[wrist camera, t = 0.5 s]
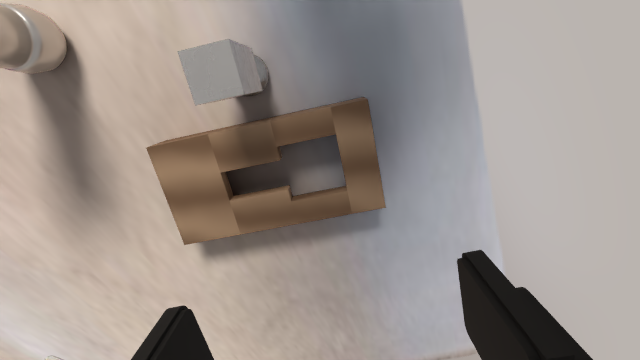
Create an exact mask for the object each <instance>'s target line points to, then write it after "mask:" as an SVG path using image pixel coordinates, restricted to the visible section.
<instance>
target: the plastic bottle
mask: <svg viewBox="0 0 640 360" xmlns="http://www.w3.org/2000/svg"><path fill="white" fill-rule="evenodd" d="M66 52H67V45H66V40H65V37H64V35H63V33H62V31H61V30H60V28H59V27H58V26H57V25H56V23H55V22H54V21H53V20H52V19H51V18H49V17H48V16H46V15H45V14H43V13H41V12H39V11H37V10H34V9H32V8H29V7H27V6H23V5H18V4H8V3H0V68H4V69H8V70H12V71H16V72H23V73H33V74H34V73H41V72H46V71H51V70H53V69H55V68H56V67H58V66H59V65H60V64H61V62H62V61H63V60H64V58H65V56H66Z"/></svg>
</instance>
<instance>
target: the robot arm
mask: <svg viewBox="0 0 640 360" xmlns="http://www.w3.org/2000/svg"><path fill="white" fill-rule="evenodd" d="M457 264H458V272H459V281H460V289H461V297H462V305H463V314H464V322H465V327H466V330H467V333H468V335H469V337H470V339H471V341H472V343H473V344H474V346H475V348H476V350H477V352H478V354H479V355H480V357H481V359H482V360H593V359H592V358H591V357H590V356H589V355H588V354H587V353H586V352H585V351H584V350H583V349H582V347H580V346H579V344H578V343H577V342H576V341H575V340H574V339H573V338H572V337H571V336H570V335H569V334H568V333H567V332H566V330H565V329H564V328H563V327H562V326H561V325H560V324H559V323H558V322H557V321H556V320H555V319H554V318H553V316H551V314H550V313H549V312H548V311H547V310H546V309H545V308H544V307H543V306H542V305H541V304H540V303H539V302H538V300H537V299H536V298H535V297H534V296H533V295H532V294H531V293H530V292H529V291H528V290H527V289H526V288H523V287H519V288H515V287H514V286H513V285H512V284H511V283H510V282H509V280H508V279H507V278H506V277H505V276H504V275H503V273H502V272H501V271H500V270H499V269H498V268H497V267H496V266H495V264H494V263H493V262H492V261H491V260H490V259H489V258H488V257H487V255H486V254H485V253H484V252H483V251H482V250H477V251H472V252H467V253H463V254H462V258H460V259H458V260H457ZM131 360H214V358H213V356H212V354H211V352H210V350H209V347H208V345H207V343H206V341H205V338H204V336H203V334H202V332H201V329H200V327H199V325H198V323H197V321H196V318H195V316H194V314H193V312H192V310H191V309H188V308H187V307H186V306H179V307H173V308H169V309H167V310H166V311H165V312H164V313H163V315H162V316H161V318H160V319H159V321H158V322H157V323H156V325H155V326H154V328H153V329H152V330H151V332H150V333H149V335H148V336H147V338H146V339H145V340H144V342H143V343H142V345H141V346H140V348H139V349H138V350H137V352H136V353H135V355H134V356H133V357H132V359H131Z"/></svg>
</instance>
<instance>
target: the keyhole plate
mask: <svg viewBox="0 0 640 360" xmlns="http://www.w3.org/2000/svg"><path fill="white" fill-rule="evenodd" d="M335 134H336V137H337V142H338V147H339V152H340V157H341V161H342V166H343V171H344V176H345V181H346V186H343V187H338V188H333V189H328V190H322V191H317V192H312V193H307V194H302V195H297V196H292V192H291V188H290V185H287V186H282V187H277V188H272V189H267V190H262V191H257V192H252V193H247V194H242V195H237V196H233V193H232V190H231V187H230V184H229V181H228V177H227V174H226V171H231V170H236V169H240V168H245V167H250V166H255V165H260V164H265V163H269V162H274V161H279V160H281V158H282V154H281V150H280V146H283V145H288V144H292V143H297V142H302V141H307V140H311V139H316V138H321V137H326V136H330V135H335ZM146 149H147V151H148V154H149V156H150V159H151V161H152V164H153V166H154V169H155V171H156V174H157V176H158V179H159V181H160V184H161V187H162V189H163V192H164V194H165V197H166V199H167V202H168V204H169V207H170V209H171V212H172V214H173V217H174V219H175V222H176V224H177V227H178V230H179V232H180V235H181V237H182V240H183V242H184V245H186V244H192V243H197V242H203V241H208V240H213V239H219V238H224V237H230V236H235V235H240V234H246V233H251V232H257V231H262V230H267V229H273V228H278V227H284V226H289V225H294V224H300V223H305V222H310V221H316V220H321V219H327V218H332V217H337V216H343V215H348V214H354V213H359V212H364V211H370V210H375V209H381V208H386V207H385V201H384V195H383V189H382V183H381V176H380V170H379V164H378V158H377V152H376V146H375V140H374V134H373V128H372V122H371V116H370V110H369V104H368V99H366V98H364V97H361V98H357V99H352V100H348V101H343V102H339V103H334V104H330V105H325V106H320V107H316V108H311V109H307V110H302V111H298V112H293V113H289V114H284V115H280V116H275V117H271V118H266V119H261V120H257V121H252V122H248V123H243V124H239V125H234V126H230V127H225V128H221V129H216V130H212V131H207V132H202V133H198V134H193V135H189V136H184V137H180V138H175V139H171V140H166V141H163V142H160V143H158V144H155V145H152V146H150V147H147V148H146Z"/></svg>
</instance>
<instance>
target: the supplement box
mask: <svg viewBox="0 0 640 360" xmlns="http://www.w3.org/2000/svg"><path fill="white" fill-rule="evenodd" d="M45 360H62V359H59V358H56V357H53V356H48V357H47V358H46V359H45Z"/></svg>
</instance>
